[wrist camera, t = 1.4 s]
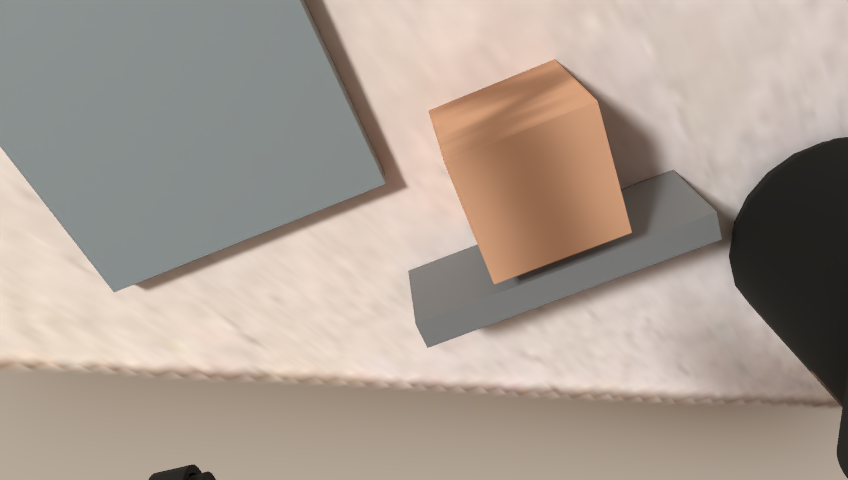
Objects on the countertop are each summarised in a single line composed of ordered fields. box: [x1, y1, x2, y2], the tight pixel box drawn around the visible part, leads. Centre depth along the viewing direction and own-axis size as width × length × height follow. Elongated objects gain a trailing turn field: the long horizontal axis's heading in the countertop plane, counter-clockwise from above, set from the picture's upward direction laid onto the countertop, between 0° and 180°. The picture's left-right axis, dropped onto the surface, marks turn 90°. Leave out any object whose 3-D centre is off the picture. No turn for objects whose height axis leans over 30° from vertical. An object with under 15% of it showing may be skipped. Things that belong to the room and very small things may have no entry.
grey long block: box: [409, 170, 722, 347], centre depth 32 cm, size 14×4×4 cm, turn 111°
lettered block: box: [429, 59, 632, 284], centre depth 29 cm, size 6×6×6 cm
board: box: [0, 0, 386, 292], centre depth 28 cm, size 14×14×1 cm
